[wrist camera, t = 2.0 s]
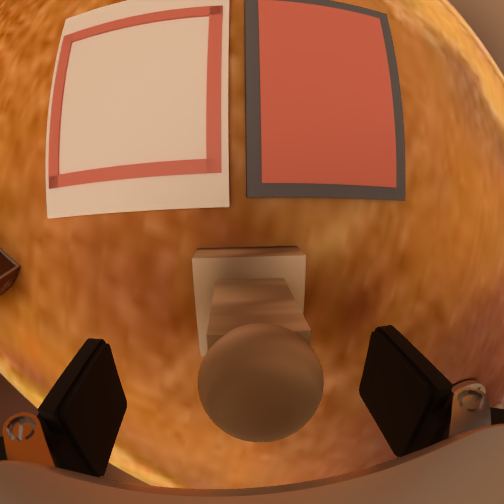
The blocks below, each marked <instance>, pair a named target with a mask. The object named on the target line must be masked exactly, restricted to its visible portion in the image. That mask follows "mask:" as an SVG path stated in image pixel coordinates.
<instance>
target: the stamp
mask: <svg viewBox="0 0 504 504" xmlns="http://www.w3.org/2000/svg"><path fill="white" fill-rule="evenodd" d="M192 268H193V282H194V295H195V307H196V318H197V328H198V338H199V347H200V356H204V359H203V361H202V363H201V366H200V370H199V375H198V391H199V396H200V400H201V403H202V405H203V407H204V410H205V411H206V413H207V414H208V416H209V417H210V419H211V420H212V421H213V422H214V423H215V424H216V425H217V426H218V427H219V428H220V429H222V430H223V431H224V432H226V433H228V434H229V435H231V436H233V437H236V438H238V439H241V440H245V441H251V442H271V441H276V440H279V439H282V438H285V437H287V436H289V435H291V434H293V433H295V432H296V431H298V430H299V429H301V428H302V427H303V426H304V425H305V424H306V423H307V422H308V421H309V420H310V419H311V417H312V416H313V414H314V413H315V411H316V410H317V408H318V405H319V403H320V400H321V397H322V393H323V383H324V381H323V372H322V367H321V364H320V361H319V359H318V357H317V355H316V353H315V352H314V350H313V349H312V347H311V346H310V340H311V329H310V327H309V325H308V323H307V321H306V319H305V317H304V315H303V314H304V295H305V272H306V255H305V254H304V253H303V252H302V251H301V250H300V249H299V248H298V247H297V246H269V247H230V248H197V250H196V252H195V254H194V255H193V257H192Z"/></svg>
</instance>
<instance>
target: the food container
mask: <svg viewBox="0 0 504 504" xmlns="http://www.w3.org/2000/svg"><path fill="white" fill-rule="evenodd" d="M19 270H20V265H19V264H18V263H17V262H16V261H14V260H13V259H12V258H11V257H10V256H9V255H8V254H6V253H5V252H4V251H3V250H2V249H1V248H0V295H2V294H3V293H4V292H5V291H7V290H8V289H9V288H10V287H11V286H12V285H13V283H14V282H15V280H16V278H17V276H18V273H19Z"/></svg>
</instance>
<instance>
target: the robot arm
mask: <svg viewBox="0 0 504 504" xmlns="http://www.w3.org/2000/svg"><path fill="white" fill-rule="evenodd" d="M359 392H360V396H361V398H362V399H363V401H364V403H365V404H366V406H367V408H368V410H369V411H370V413H371V415H372V416H373V418H374V420H375V421H376V423H377V425H378V427H379V428H380V430H381V432H382V433H383V435H384V437H385V439H386V440H387V442H388V444H389V445H390V447H391V449H392V451H393V452H394V454H395V455H396V456H397V457H399V456H400V457H399V458H396V459H394V460H391V461H388V462H385V463H382V464H378V465H375V466H372V467H368V468H365V469H361V470H358V471H354V472H350V473H346V474H342V475H337V476H333V477H328V478H323V479H318V480H313V481H307V482H301V483H294V484H287V485H279V486H270V487H259V488H245V489H182V488H168V487H157V486H148V485H140V484H133V483H127V482H121V481H115V480H110V479H105V478H100V476H103V475H104V474H105V471H106V468H107V464H108V461H109V458H110V455H111V452H112V449H113V446H114V443H115V440H116V437H117V434H118V431H119V428H120V425H121V422H122V420H123V417H124V414H125V411H126V408H127V401H126V397H125V394H124V391H123V388H122V385H121V382H120V379H119V376H118V373H117V369H116V366H115V362H114V359H113V355H112V352H111V348H110V345H109V344H106V342H105V341H104V340H103V339H91V338H89V339H87V341H86V342H85V343H84V345H83V346H82V347H81V349H80V350H79V351H78V353H77V354H76V355H75V357H74V358H73V359H72V361H71V362H70V363H69V365H68V366H67V368H66V369H65V370H64V372H63V373H62V375H61V376H60V377H59V379H58V380H57V382H56V383H55V385H54V386H53V388H52V389H51V390H50V392H49V393H48V395H47V396H46V398H45V399H44V401H43V402H42V404H41V405H40V407H39V408H38V411H39V414H38V415H37V417H36V416H35V415H33V414H30V413H18V414H16V415H13V416H12V417H11V418H9V419H8V420H7V421H6V422H5V424H4V427H3V436H2V437H0V504H504V409H503V404H502V402H498V403H496V404H494V405H493V406H492V407H491V406H490V401H489V398H488V397H487V395H486V390H485V387H484V386H483V385H482V384H481V383H480V382H479V381H477V380H467V381H464V382H461V383H459V384H457V385H455V386H453V385H452V383H451V382H450V381H449V380H448V379H447V378H446V377H445V376H444V375H443V374H442V373H441V372H440V371H439V370H438V369H437V368H436V367H435V366H434V365H433V364H432V363H431V362H430V361H429V360H428V359H427V358H425V357H424V356H423V355H422V354H421V353H420V352H419V351H418V350H417V349H416V348H415V347H414V346H413V345H412V344H411V343H410V342H409V341H408V340H407V339H406V338H405V337H404V336H403V335H402V334H401V333H400V332H399V331H398V330H396V329H395V328H394V327H393V326H392V325H388V326H381V327H377V328H376V329H375V331H374V332H372V334H371V337H370V342H369V347H368V352H367V357H366V362H365V366H364V371H363V375H362V379H361V383H360V388H359Z"/></svg>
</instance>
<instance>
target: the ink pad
mask: <svg viewBox="0 0 504 504" xmlns="http://www.w3.org/2000/svg"><path fill="white" fill-rule="evenodd" d="M245 114H246V194H247V198H252V197H316V198H356V199H380V200H399V201H405V141H404V124H403V112H402V101H401V92H400V84H399V77H398V70H397V63H396V57H395V52H394V46H393V41H392V36H391V32H390V27H389V23H388V18H387V14H385V13H381V12H378V11H374V10H370V9H367V8H363V7H359V6H354V5H350V4H345V3H340V2H335V1H330V0H245Z"/></svg>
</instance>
